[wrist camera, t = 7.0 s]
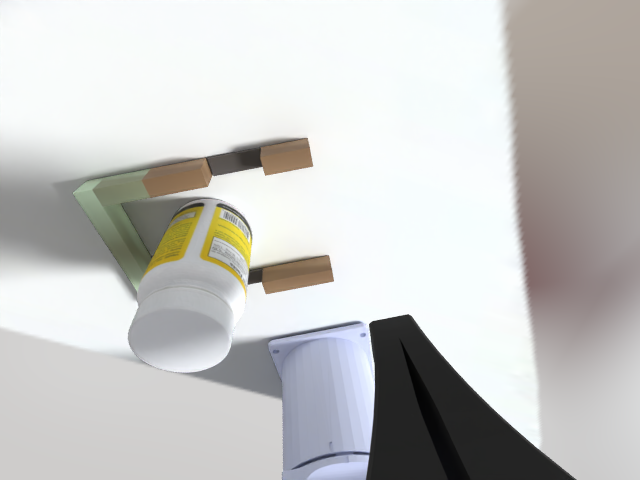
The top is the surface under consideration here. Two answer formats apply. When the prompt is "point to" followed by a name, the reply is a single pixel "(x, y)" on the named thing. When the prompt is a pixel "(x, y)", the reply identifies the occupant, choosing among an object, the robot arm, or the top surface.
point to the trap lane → (111, 191)
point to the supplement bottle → (193, 289)
